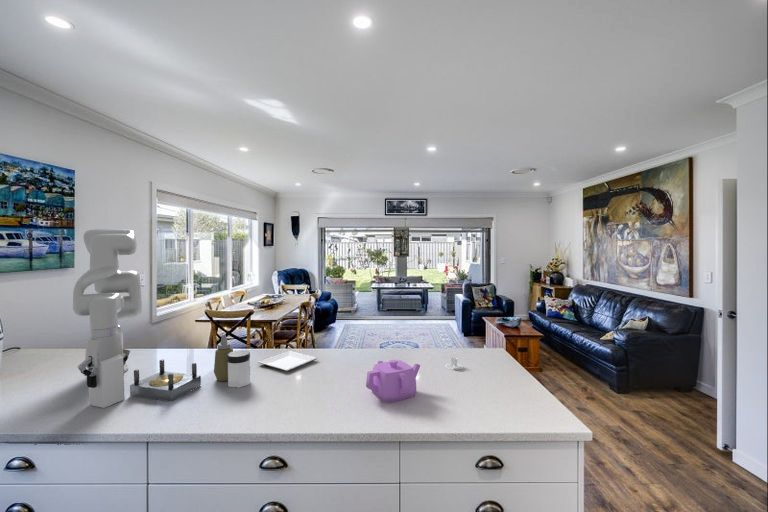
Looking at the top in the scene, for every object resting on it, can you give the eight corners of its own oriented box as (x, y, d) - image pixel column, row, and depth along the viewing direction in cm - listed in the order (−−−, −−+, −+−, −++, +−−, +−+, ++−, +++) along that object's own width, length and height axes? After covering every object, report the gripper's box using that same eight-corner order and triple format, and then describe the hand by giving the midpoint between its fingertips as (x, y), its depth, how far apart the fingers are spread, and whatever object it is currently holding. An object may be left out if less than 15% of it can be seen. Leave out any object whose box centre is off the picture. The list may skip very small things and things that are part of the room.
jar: (250, 386, 141) (250, 355, 140) (227, 389, 138) (227, 358, 137) (250, 377, 149) (249, 348, 148) (228, 380, 146) (227, 351, 145)
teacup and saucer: (461, 372, 157) (461, 363, 157) (443, 370, 160) (443, 360, 159) (464, 365, 165) (464, 356, 165) (446, 363, 168) (446, 354, 168)
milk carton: (124, 399, 129) (122, 346, 128) (103, 408, 122) (101, 352, 121) (110, 396, 131) (108, 344, 130) (89, 405, 125) (86, 350, 124)
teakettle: (363, 400, 129) (363, 366, 128) (378, 382, 145) (378, 351, 145) (411, 407, 124) (411, 371, 124) (420, 387, 141) (421, 355, 140)
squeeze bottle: (227, 383, 143) (226, 338, 142) (209, 381, 145) (208, 337, 144) (239, 375, 151) (238, 332, 150) (222, 374, 153) (221, 331, 152)
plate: (317, 361, 169) (317, 357, 169) (287, 374, 153) (287, 370, 153) (289, 354, 179) (289, 350, 179) (257, 366, 163) (257, 361, 163)
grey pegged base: (130, 395, 132) (129, 371, 131) (162, 380, 146) (161, 358, 145) (171, 401, 128) (170, 376, 127) (200, 385, 141) (200, 362, 141)
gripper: (119, 325, 135) (121, 371, 136) (68, 338, 118) (71, 390, 119) (136, 327, 133) (137, 373, 134) (86, 339, 116) (89, 393, 117)
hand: (106, 381), depth 126 cm, fingers open, 9 cm apart
